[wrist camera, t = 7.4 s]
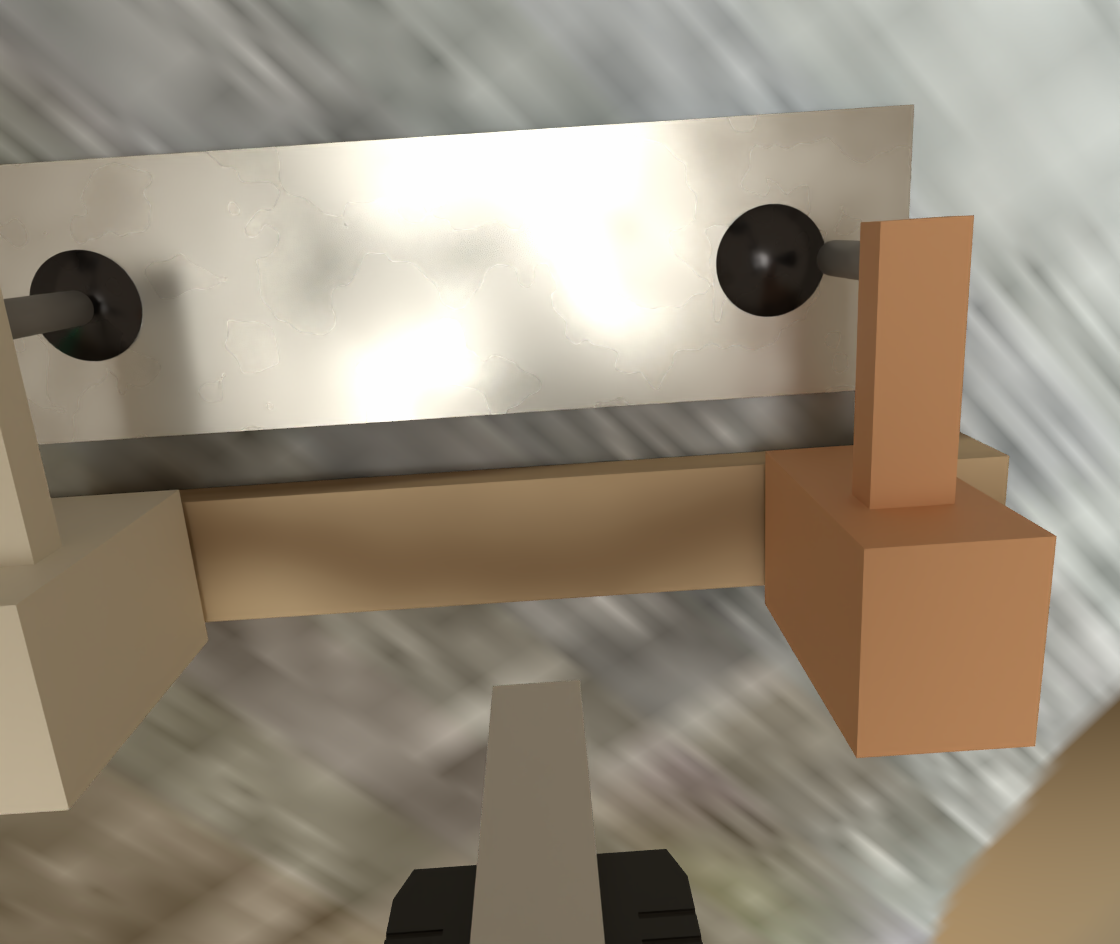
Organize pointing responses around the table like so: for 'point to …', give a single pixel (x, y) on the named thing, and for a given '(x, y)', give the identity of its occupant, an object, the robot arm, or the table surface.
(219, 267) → the hole plate
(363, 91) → the table surface
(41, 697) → the fixed leg
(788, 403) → the table surface
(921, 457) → the slider leg
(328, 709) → the table surface
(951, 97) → the table surface
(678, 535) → the rail
